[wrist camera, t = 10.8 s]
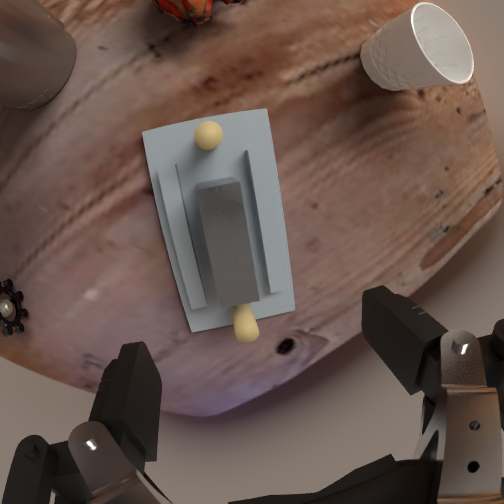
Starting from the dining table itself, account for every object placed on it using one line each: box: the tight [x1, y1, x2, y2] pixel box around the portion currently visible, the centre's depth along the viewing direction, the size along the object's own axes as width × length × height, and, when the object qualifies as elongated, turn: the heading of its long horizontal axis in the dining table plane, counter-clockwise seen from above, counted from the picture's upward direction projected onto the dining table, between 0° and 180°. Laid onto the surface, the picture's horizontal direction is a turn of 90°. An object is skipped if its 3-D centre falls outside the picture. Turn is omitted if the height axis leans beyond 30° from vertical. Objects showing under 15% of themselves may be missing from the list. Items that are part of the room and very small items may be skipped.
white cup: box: [360, 2, 474, 91], centre depth 19 cm, size 8×8×10 cm
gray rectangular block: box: [196, 177, 260, 309], centre depth 23 cm, size 9×3×6 cm, turn 9°
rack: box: [142, 108, 295, 343], centre depth 24 cm, size 20×11×6 cm, turn 10°
